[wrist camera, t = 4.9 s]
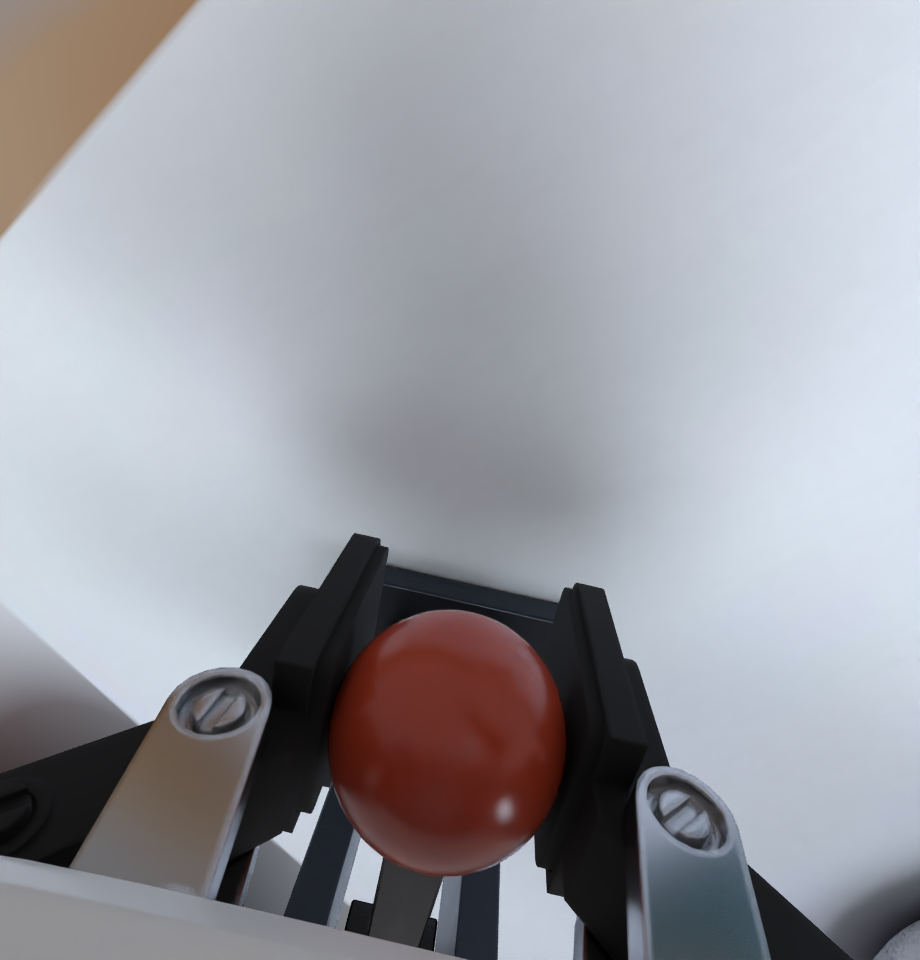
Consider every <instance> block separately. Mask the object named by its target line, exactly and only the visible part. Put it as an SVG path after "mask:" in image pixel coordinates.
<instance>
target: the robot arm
mask: <svg viewBox="0 0 920 960" xmlns="http://www.w3.org/2000/svg"><path fill="white" fill-rule="evenodd" d="M380 542H381V540H380V539H379V538H375V537H370V536H366V535H361V534H357V533H354V534H353V535H352V537H351V539H350V540H349V542H348V543H347V545H346V547H345V548H344V550H343V551H342V553H341V555H340V556H339V558H338V559H337V561H336V563H335V564H334V566H333V567H332V569H331V571H330V572H329V574H328V575H327V577H326V579H325V580H324V582H323V583H322V585H321V587H320V588H319V589H316V588H312V587H307V586H303V585H299V586H297V587H296V589H295V590H294V591H293V592H292V594H291V595H290V597H289V598H288V600H287V601H286V602H285V604H284V605H283V607H282V608H281V610H280V611H279V612H278V614H277V615H276V617H275V618H274V619H273V621H272V622H271V624H270V625H269V627H268V628H267V629H266V631H265V632H264V634H263V635H262V637H261V638H260V639H259V641H258V642H257V644H256V645H255V647H254V648H253V649H252V651H251V652H250V654H249V655H248V657H247V658H246V659H245V661H244V662H243V664H242V665H241V667H240V668H217V669H212V670H207V671H204V672H201V673H199V674H196V675H194V676H192V677H190V678H188V679H187V680H185V681H184V682H183V683H181V684H180V685H178V686H177V687H176V688H175V690H174V691H173V692H172V693H171V695H170V696H169V697H168V698H167V700H166V702H165V704H164V705H163V707H162V709H161V710H160V712H159V714H158V716H157V717H156V719H155V720H154V721H151V722H148V723H145V724H142V725H140V726H137V727H134V728H131V729H128V730H125V731H123V732H119V733H117V734H114V735H111V736H108V737H105V738H102V739H99V740H96V741H93V742H90V743H88V744H85V745H82V746H79V747H76V748H73V749H70V750H67V751H64V752H62V753H59V754H56V755H53V756H50V757H47V758H44V759H41V760H38V761H36V762H33V763H30V764H27V765H24V766H21V767H19V768H15V769H13V770H10V771H7V772H4V773H1V774H0V960H467V959H463V958H459V957H454V956H450V955H446V954H442V953H438V952H433V951H429V950H425V949H421V948H416V947H412V946H408V945H404V944H399V943H395V942H391V941H387V940H383V939H378V938H374V937H370V936H366V935H361V934H357V933H353V932H349V931H344V930H340V929H336V928H332V927H327V926H323V925H319V924H314V923H310V922H306V921H301V920H297V919H293V918H288V917H284V916H280V915H275V914H271V913H267V912H262V911H258V910H254V909H249V908H245V907H243V905H244V902H245V898H246V894H247V891H248V887H249V884H250V880H251V876H252V873H253V869H254V866H255V862H256V859H257V855H258V851H259V845H261V844H262V843H264V842H266V841H268V840H270V839H272V838H274V837H275V836H277V835H279V834H281V833H282V831H285V832H289V833H292V832H293V830H294V827H295V825H296V822H297V820H298V817H299V815H300V812H305V813H309V814H311V813H312V811H313V810H314V807H315V805H316V802H317V799H318V797H319V794H320V791H321V789H322V786H323V783H324V781H325V778H326V775H327V773H328V770H329V763H328V756H327V736H328V725H329V719H330V714H331V709H332V705H333V702H334V699H335V696H336V693H337V690H338V688H339V686H340V683H341V681H342V679H343V677H344V675H345V673H346V671H347V670H348V668H349V667H350V665H351V664H352V662H353V661H354V660H355V658H356V657H357V655H358V654H359V653H360V652H361V651H362V650H363V649H364V648H365V647H366V645H367V644H368V643H369V642H370V641H371V640H372V639H373V638H374V634H375V628H376V622H377V616H378V611H379V605H380V599H381V593H382V587H383V581H384V575H385V569H386V563H387V557H388V550H389V549H388V547H384V546H380ZM541 659H542V660H543V662H544V663H545V665H546V666H547V668H548V669H549V671H550V673H551V675H552V677H553V679H554V681H555V683H556V686H557V688H558V690H559V693H560V697H561V700H562V703H563V707H564V711H565V716H566V723H567V734H568V752H567V760H566V766H565V773H564V777H563V780H562V784H561V787H560V790H559V793H558V796H557V799H556V801H555V803H554V805H553V807H552V809H551V811H550V813H549V814H548V816H547V818H546V819H545V821H544V822H543V824H542V825H541V826H540V828H539V829H538V831H537V832H536V833H535V834H534V840H535V861H536V865H537V867H541V868H545V869H546V883H547V893H550V894H554V895H558V896H562V897H564V900H565V901H566V902H567V904H568V905H569V906H570V907H571V909H572V910H573V911H574V912H575V913H576V915H577V918H576V923H575V933H574V955H573V960H853V959H852V958H851V957H850V956H849V955H847V954H846V953H845V952H844V951H843V950H842V949H841V948H840V947H839V946H837V945H836V944H835V943H834V942H833V941H832V940H831V939H830V938H829V937H828V936H826V935H825V934H824V933H823V932H822V931H821V930H820V929H819V928H818V927H816V926H815V925H814V924H813V923H812V922H811V921H810V920H809V919H808V918H806V917H805V916H804V915H803V914H802V913H801V912H800V911H799V910H798V909H796V908H795V907H794V906H793V905H792V904H791V903H790V902H789V901H788V900H787V899H785V898H784V897H783V896H782V895H781V894H780V893H779V892H778V891H777V890H775V889H774V888H773V887H772V886H771V885H770V884H769V883H768V882H767V881H765V880H764V879H763V878H762V877H761V876H760V875H759V874H758V873H757V872H755V871H754V870H753V869H752V868H751V867H750V866H749V865H748V864H747V861H746V857H745V853H744V849H743V845H742V841H741V837H740V833H739V829H738V827H737V824H736V822H735V820H734V817H733V815H732V813H731V812H730V810H729V809H728V807H727V806H726V804H725V803H724V801H723V800H722V799H721V798H720V797H719V796H718V795H717V794H716V793H715V792H714V791H713V790H712V789H711V788H710V787H709V786H708V785H706V784H705V783H703V782H702V781H701V780H699V779H698V778H696V777H695V776H693V775H691V774H689V773H687V772H684V771H682V770H680V769H676V768H672V767H670V766H669V763H668V759H667V756H666V753H665V750H664V747H663V744H662V740H661V737H660V734H659V731H658V728H657V725H656V722H655V718H654V715H653V712H652V709H651V706H650V703H649V699H648V696H647V693H646V690H645V687H644V684H643V680H642V677H641V674H640V671H639V668H638V666H637V664H636V662H635V661H633V660H630V659H626V658H623V654H622V651H621V647H620V644H619V640H618V637H617V633H616V630H615V626H614V623H613V619H612V616H611V612H610V609H609V605H608V602H607V598H606V595H605V591H604V589H602V588H598V587H593V586H589V585H585V584H580V583H576V584H575V585H574V587H573V589H571V588H566V587H565V588H564V590H563V592H562V595H561V598H560V601H559V604H558V607H557V611H556V614H555V617H554V620H553V623H552V626H551V629H550V632H549V636H548V639H547V642H546V645H545V648H544V651H543V654H542V657H541Z"/></svg>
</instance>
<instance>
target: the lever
mask: <svg viewBox="0 0 920 960" xmlns="http://www.w3.org/2000/svg"><path fill="white" fill-rule="evenodd" d="M567 752H568V734H567V723H566V716H565V711H564V707H563V703H562V700H561V697H560V693H559V690H558V688H557V686H556V683H555V681H554V679H553V677H552V675H551V673H550V671H549V669H548V668H547V666H546V665H545V663H544V662H543V660H542V659H541V657H540V656H539V655H538V654H537V652H536V651H535V650H534V649H533V648H532V647H531V645H530V644H529V643H528V642H526V641H525V640H524V639H523V638H522V637H521V636H519V635H518V634H517V633H516V632H515V631H513V630H512V629H510V628H509V627H507V626H506V625H504V624H502V623H500V622H498V621H496V620H494V619H492V618H489V617H487V616H484V615H481V614H477V613H474V612H469V611H463V610H434V611H427V612H423V613H419V614H416V615H413V616H411V617H408V618H406V619H403V620H401V621H399V622H397V623H395V624H393V625H391V626H390V627H388V628H387V629H385V630H384V631H382V632H381V633H380V634H378V635H377V636H376V637H375V638H373V639H372V640H371V641H370V642H369V643H368V644H367V645H366V647H365V648H364V649H363V650H362V651H361V652H360V653H359V654H358V655H357V657H356V658H355V660H354V661H353V662H352V664H351V665H350V667H349V668H348V670H347V671H346V673H345V675H344V677H343V679H342V681H341V683H340V686H339V688H338V690H337V693H336V696H335V699H334V702H333V705H332V709H331V714H330V719H329V725H328V736H327V756H328V763H329V770H330V776H331V780H332V784H333V787H334V790H335V793H336V796H337V799H338V801H339V803H340V805H341V807H342V809H343V811H344V813H345V815H346V817H347V819H348V820H349V822H350V823H351V825H352V826H353V827H354V829H355V830H356V831H357V833H358V834H359V835H360V836H361V838H362V839H363V840H364V841H365V842H366V843H367V844H368V845H369V846H370V847H372V848H373V849H374V850H375V851H376V852H378V853H379V854H380V855H381V856H383V861H382V866H381V871H380V875H379V880H378V884H377V889H376V894H375V898H374V903H373V904H371V903H367V902H362V901H358V900H353V901H352V902H351V906H350V910H349V914H348V918H347V922H346V926H345V930H344V931H349V932H353V933H357V934H361V935H366V936H370V937H374V938H378V939H383V940H387V941H391V942H395V943H399V944H404V945H408V946H412V947H416V948H421V949H425V950H429V951H433V952H434V946H435V938H436V930H437V923H438V922H437V919H434V918H430V916H431V913H432V910H433V907H434V904H435V901H436V898H437V895H438V892H439V889H440V886H441V883H442V880H443V877H444V876H445V877H448V876H463V875H468V874H473V873H476V872H479V871H482V870H485V869H488V868H490V867H492V866H495V865H497V864H498V863H500V862H502V861H503V860H505V859H507V858H508V857H510V856H511V855H513V854H514V853H516V852H517V851H518V850H519V849H520V848H521V847H523V846H524V845H525V844H526V843H527V842H528V841H529V840H530V839H531V838H532V837H533V835H534V834H535V833H536V832H537V831H538V829H539V828H540V826H541V825H542V824H543V822H544V821H545V819H546V818H547V816H548V814H549V813H550V811H551V809H552V807H553V805H554V803H555V801H556V799H557V796H558V793H559V790H560V787H561V784H562V780H563V777H564V773H565V766H566V760H567Z"/></svg>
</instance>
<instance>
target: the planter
mask: <svg viewBox="0 0 920 960" xmlns="http://www.w3.org/2000/svg"><path fill="white" fill-rule="evenodd" d="M873 960H920V920H918V921H916V922H914V923H913V924H911V925H909V926H908V927H906V928H904V929H903V930H902V931H900V932H899V933H897V934H896V935H895V936H894V937H893V938H892V939H890V940H889V941H888V942H887V944H886V945H885V946H884V947H883V948H882V949H881V950H880V951H879V953H878V954H877V955H876V956H875V957H874V959H873Z"/></svg>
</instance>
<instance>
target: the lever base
mask: <svg viewBox="0 0 920 960" xmlns="http://www.w3.org/2000/svg"><path fill="white" fill-rule="evenodd" d="M557 607H558V604H554V603H550V602H546V601H541V600H537V599H532V598H528V597H523V596H519V595H514V594H510V593H506V592H501V591H497V590H492V589H488V588H483V587H479V586H475V585H470V584H466V583H461V582H457V581H452V580H448V579H443V578H439V577H435V576H430V575H426V574H421V573H417V572H412V571H408V570H403V569H399V568H395V567H390V566H386V569H385V575H384V581H383V587H382V593H381V599H380V605H379V611H378V616H377V622H376V628H375V634H374V638H375V637H376V636H377V635H378V634H380V633H381V632H382V631H384V630H385V629H387V628H388V627H390V626H391V625H393V624H395V623H397V622H399V621H401V620H403V619H406V618H408V617H411V616H413V615H416V614H419V613H423V612H427V611H434V610H463V611H469V612H474V613H477V614H481V615H484V616H487V617H489V618H492V619H494V620H496V621H498V622H500V623H502V624H504V625H506V626H507V627H509V628H510V629H512V630H513V631H515V632H516V633H517V634H518V635H519V636H521V637H522V638H523V639H524V640H525V641H526V642H528V643H529V644H530V645H531V647H532V648H533V649H534V650H535V651H536V652H537V654H538V655H539V656H540V657H542V654H543V651H544V648H545V645H546V642H547V639H548V636H549V632H550V629H551V626H552V623H553V620H554V617H555V614H556V611H557ZM323 786H324V787H329V791H328V794H327V797H326V799H325V802H324V805H323V808H322V811H321V813H320V816H319V819H318V822H317V824H316V827H315V830H314V833H313V836H312V838H311V841H310V844H309V847H308V849H307V852H306V855H305V858H304V861H303V863H302V866H301V869H300V872H299V874H298V877H297V880H296V883H295V886H294V888H293V891H292V894H291V897H290V899H289V902H288V905H287V908H286V911H285V913H284V917H288V918H293V919H297V920H301V921H306V922H310V923H314V924H319V925H323V926H327V927H332V928H336V925H337V922H338V918H339V914H340V911H341V907H342V903H343V900H344V896H345V893H346V889H347V885H348V882H349V878H350V874H351V871H352V867H353V863H354V860H355V856H356V852H357V849H358V845H359V841H360V838H361V836H360V835H359V834H358V833H357V831H356V830H355V829H354V827H353V826H352V825H351V823H350V822H349V820H348V819H347V817H346V815H345V813H344V811H343V809H342V807H341V805H340V803H339V801H338V799H337V796H336V793H335V790H334V787H333V784H332V780H331V776H330V770H328V773H327V775H326V778H325V781H324V783H323ZM499 885H500V863H498V864H497V865H495V866H492V867H490V868H488V869H485V870H482V871H479V872H476V873H473V874H468V875H463V876H448V877H445V876H444V877H443V885H442V894H441V902H440V910H439V919H438V927H437V936H436V944H435V952H438V953H442V954H446V955H450V956H454V957H459V958H463V959H467V960H498V924H499Z"/></svg>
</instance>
